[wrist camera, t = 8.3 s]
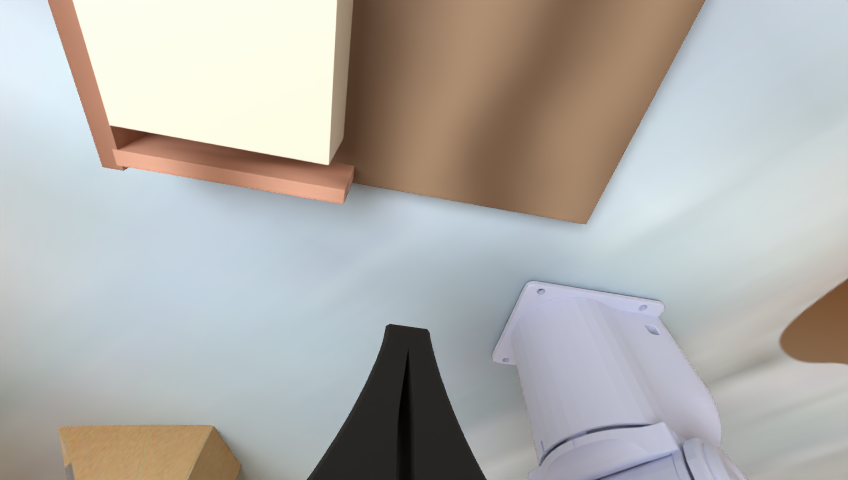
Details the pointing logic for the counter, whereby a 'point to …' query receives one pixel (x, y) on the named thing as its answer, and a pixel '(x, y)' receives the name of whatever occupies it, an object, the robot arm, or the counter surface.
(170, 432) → the sandwich container
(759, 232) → the counter surface
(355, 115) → the open-sided wooden box
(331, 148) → the carton
